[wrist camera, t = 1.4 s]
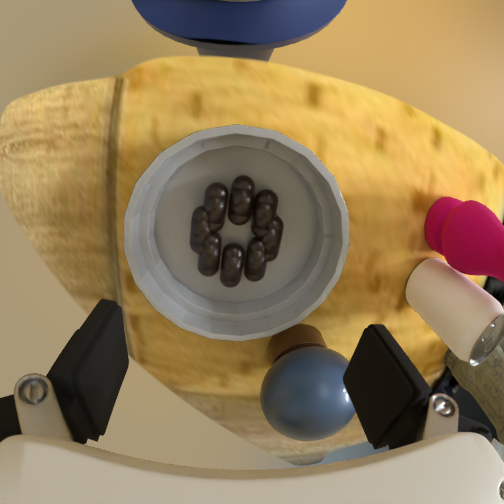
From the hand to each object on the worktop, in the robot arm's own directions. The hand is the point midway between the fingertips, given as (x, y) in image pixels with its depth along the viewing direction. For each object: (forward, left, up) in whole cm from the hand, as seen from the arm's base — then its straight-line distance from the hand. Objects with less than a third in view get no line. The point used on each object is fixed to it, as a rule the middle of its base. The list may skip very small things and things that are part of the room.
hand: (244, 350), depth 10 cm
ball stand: (+12, +8, -14) cm, 20 cm away
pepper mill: (-4, +22, -15) cm, 27 cm away
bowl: (0, 0, -14) cm, 14 cm away
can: (+3, +22, -15) cm, 26 cm away
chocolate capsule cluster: (0, 0, -14) cm, 14 cm away
